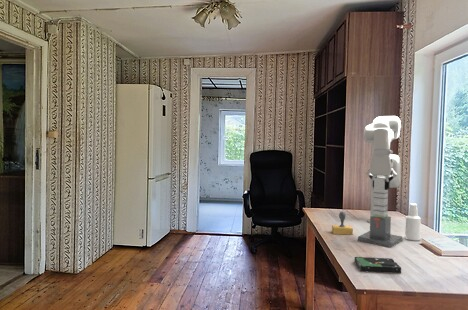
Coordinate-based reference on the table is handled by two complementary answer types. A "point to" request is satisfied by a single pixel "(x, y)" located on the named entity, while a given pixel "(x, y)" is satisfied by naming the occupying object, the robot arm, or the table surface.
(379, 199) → the block
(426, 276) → the table surface
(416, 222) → the spray bottle
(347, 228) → the rubber stamp
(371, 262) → the disk drive
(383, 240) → the jack stand base
